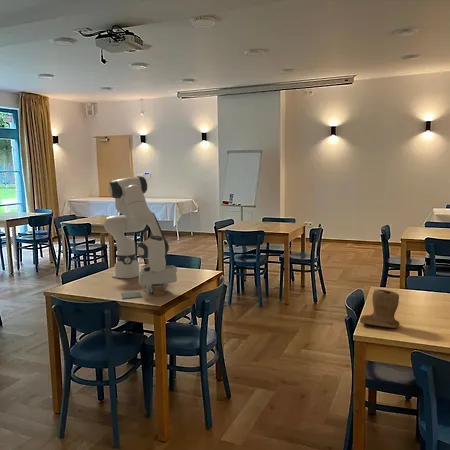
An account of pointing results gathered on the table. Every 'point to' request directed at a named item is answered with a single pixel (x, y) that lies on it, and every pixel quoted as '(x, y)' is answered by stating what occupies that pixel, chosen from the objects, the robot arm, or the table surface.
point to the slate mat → (131, 295)
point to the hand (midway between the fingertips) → (158, 291)
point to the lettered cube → (158, 290)
